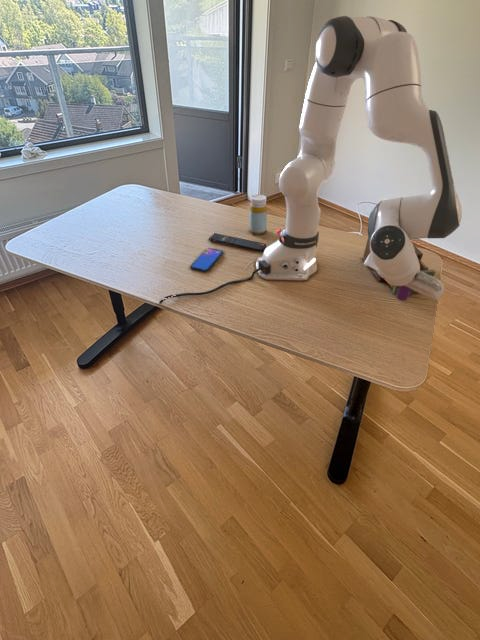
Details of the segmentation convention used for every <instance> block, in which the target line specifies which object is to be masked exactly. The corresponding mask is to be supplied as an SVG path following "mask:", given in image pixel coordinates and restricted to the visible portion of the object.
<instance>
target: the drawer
mask: <svg viewBox="0 0 480 640" xmlns="http://www.w3.org/2000/svg"><path fill="white" fill-rule="evenodd" d="M417 258H418V257H417ZM418 261H419V264H420V271H421V272H424V273H426V274H428V275H430V276H433V277H435V274H436V270H435V269H429V266H428V265H426V264H425V262H423V261H422V259H421V260H420V259H419V258H418ZM386 283H387V284H388V286H390V288H391V289H392V290H391V293H392V295H393V296H395V295H396V296H397V293H398V290H399V288H400V286H395V285H391V284H389V283H388V282H387V281H386ZM418 293H419V292H417V291H414V290H412V289H411V291H410V293H409V294H418ZM419 294H420V293H419Z"/></svg>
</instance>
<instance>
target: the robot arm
mask: <svg viewBox="0 0 480 640" xmlns="http://www.w3.org/2000/svg"><path fill="white" fill-rule="evenodd" d="M315 43H316V44H315V49H314V57H315V63H314V66H313V69H312V71H311V75H310V78H309V80H308V84H307V89H306V91H305V96H304V97H305V98H304V102H303V107H302V110H301V111H302V113H301V116H300V121H299V125H298V131H299V134H300V150H299V154H298V156H297V157H296V158H294V159H292V160H291V161H290V162H288V164H287V165H286V166H285V167H284V168H283V170H282V171H281V173H280V175H279V178H278V187H279V190H280V193H281V194H282V195H283V196H284V199H285V205H286V217H285V228H284V229H283V230H282V228H280V227H278V228H276V230H275V234H276V235H277V236H278V239H277V240H276V241H274V242H272V243H271V244H269V245H268V246H266V248H265V250H264V251H262V252H263V253H262V256H259V257H258V258H257V259H256V261H255V270H254V271H253V272H252V273H251V276H249V277H247V278H244V279H240V280H232V281H228V282H225V283H222V284H221V285H219V286H217V287H215V288H213V289H210V290H207V291H202V292H183V293H177V294H175V295H176V296H173V295H174V294H169V295H167V296H164V297H163V298H167V299H170V298H178V297H184V296H201V295H203V296H204V295H207V294H211V293H213V292H216V291H219V290H220V289H223V288H224V287H226V286H229V285H231V284H238V283H243V282H246V281H250V280H252V279H253V278H254V276H255V274H258V276H260V278H262V279H264V280H274V281H276V280H277V281H278V280H279V281H302V282H303V281H306V280H308V279H309V278H310V276H312V275H313V274H315V273H316V272H317V270H318V264H317V247H318V243H319V239H320V238H319V237H320V234H319V233H320V232H319V227H320V219H321V213H322V211H321V207H320V206H319V190H320V188H321V187H322V186H323V185H324V184H325V183H326V182H327V181H328V180H329V179H330V177H331V176H332V174H333V171H334V169H335V165H336V161H335V156H336V149H337V148H336V147H337V141H338V136H339V132H340V129H341V125H342V120H343V116H344V113H345V109H346V106H347V103H348V99H349V96H350V95H349V94H350V92H351V91H350V90H351V88H352V86H353V84H354V83H355V81H357V80H359V79H362V80H363V82H364V96H365V97H364V101H365V102H364V104H365V105H364V106H365V116H366V123H367V127H368V128H369V130H370V132H371V133H372V134H373V135H374V136H376V137H377V138H379V139H381V140H383V141H387V142H392V143H399V144H406V145H411V146H415V147H418V148H419V149H420V150H422V151H423V152H424V155H425V157H426V162H427V168H428V171H429V172H428V173H429V178H430V182H431V186H432V189H431V191H429V192H427V193H423V194H417V195H410V196H405V197H403V196H402V197H394V198H389V199H385V200H381V201H379V202H378V203H377V204H376V205H375V206H374V208H373V209H372V211H371V212H370V214H369V217H368V222H367V239H368V238H369V241H370V254H369V255H368V257H367V258H366V260H365V262H364V261H363V265H364V267H366V268H367V269H369V270H370V271H371V270H372V271H374V272H375V273H377V274H379V275H380V276H381V277H382V278H384V279H385V280H386V281H385V282H386V283H387V282H388V283H389V284H391V285H395V286H403V285H404V286H406V287H408V288H410V289H412V290H414V291H417V292H419V294H420V295H423V296H425V297H426V298H429V299H431V300H433V301H438V300H439V299H440V298H441V296H442V294H443V293H444V292H445V290H446V289H445V287H444V284H443V282H442V281H440V279H438V278H436V277H435V276H434V277H433V276H430V275H428V274H426V273H424V272H421V271H420V264H419V261H418V258H417V255H416V253H415V249H414V246H415V245H414V244H413V242H412V240H419V239H445V238H447V237H448V236H450V235H452V234H453V233H454V232H455V231H456V230H457V229H458V228H459V227H460V226H461V225H460V224H461V223H462V218H463V210H462V204H461V201H460V199H459V196H458V193H457V191H456V188H455V182H454V177H453V171H452V167H451V162H450V156H449V151H448V146H447V141H446V137H445V131H444V128H443V124H442V120H441V118H440V115H439V113H438V112H437V110H432V109H429V108H428V106H427V105H426V103H425V101H424V98H423V94H422V93H423V92H422V75H421V64H420V58H419V53H418V47H417V43H416V40H415V38H414V36H413V35H412V34H410V33H409V32H408V31H407V29H406V28H405V26H404V25H402V23H399V22H398V21H396V20H393V19H388V20H387V19H385V18H381V17H376V16H370V15H368V16H348V15H341V16H336V17H333V18H331V19H329V20H328V21H326V22H325V23H324V25H323V26H322V27H321V29H320V31H319V34H318V36H317V40H316V42H315ZM413 245H414V246H413ZM372 271H371V272H372ZM388 283H387V284H388ZM389 284H388V285H389ZM171 296H173V297H171ZM168 297H170V298H168ZM165 300H166V299H164V300H162V299H160V300H159V302H158V304H162V303H163V302H164V301H165Z"/></svg>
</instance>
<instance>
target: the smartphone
mask: <svg viewBox="0 0 480 640" xmlns="http://www.w3.org/2000/svg"><path fill="white" fill-rule="evenodd" d="M207 248H208V249H209V251H208V250H207V251H208V254H206V253H203V252H202V253H201V254H200V255H199V256H198V257H197V258H196V259H195V260H194V261H193V262H192V263H191V264H190V269H192V270H195V271H196V270H197V271H201V272H208V271H209V270H210V269H211V268H212V267H213V266H214V265H215V263H216V262H217V261H218V260H219V258H220V257H221V256H222V255H223V254H224V251H223V250H222V249H217V248H212V247H207Z"/></svg>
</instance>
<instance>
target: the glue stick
mask: <svg viewBox="0 0 480 640" xmlns="http://www.w3.org/2000/svg"><path fill="white" fill-rule="evenodd" d="M410 291H411V289H410V288H408V287H406V286H404V285H403V286H400V288H399V290H398V293H397V295H396V296H395V298H396V299H397V300H399V301H402V302H405V301H407V300H408V298H409V295H410V294H411V293H410Z"/></svg>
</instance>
